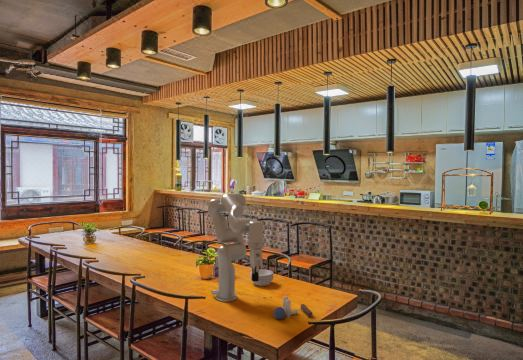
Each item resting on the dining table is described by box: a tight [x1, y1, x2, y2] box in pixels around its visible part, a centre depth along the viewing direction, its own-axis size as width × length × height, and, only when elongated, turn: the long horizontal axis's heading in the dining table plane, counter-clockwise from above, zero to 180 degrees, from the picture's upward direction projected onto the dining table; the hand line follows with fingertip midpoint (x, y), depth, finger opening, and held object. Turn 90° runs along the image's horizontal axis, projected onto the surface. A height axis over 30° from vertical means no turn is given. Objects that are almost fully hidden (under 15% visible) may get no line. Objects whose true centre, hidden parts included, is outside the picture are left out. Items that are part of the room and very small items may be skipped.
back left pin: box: [282, 295, 289, 310], centre depth 186 cm, size 2×2×9 cm
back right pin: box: [285, 299, 292, 319], centre depth 181 cm, size 2×2×9 cm
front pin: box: [285, 309, 299, 316], centre depth 184 cm, size 2×2×9 cm
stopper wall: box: [300, 303, 313, 319], centre depth 186 cm, size 2×12×2 cm, turn 14°
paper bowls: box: [250, 269, 274, 287], centre depth 233 cm, size 15×15×8 cm
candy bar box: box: [212, 251, 219, 278], centre depth 253 cm, size 11×5×16 cm, turn 138°
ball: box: [273, 306, 286, 320], centre depth 178 cm, size 6×6×6 cm
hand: (255, 280), depth 179 cm, fingers closed
